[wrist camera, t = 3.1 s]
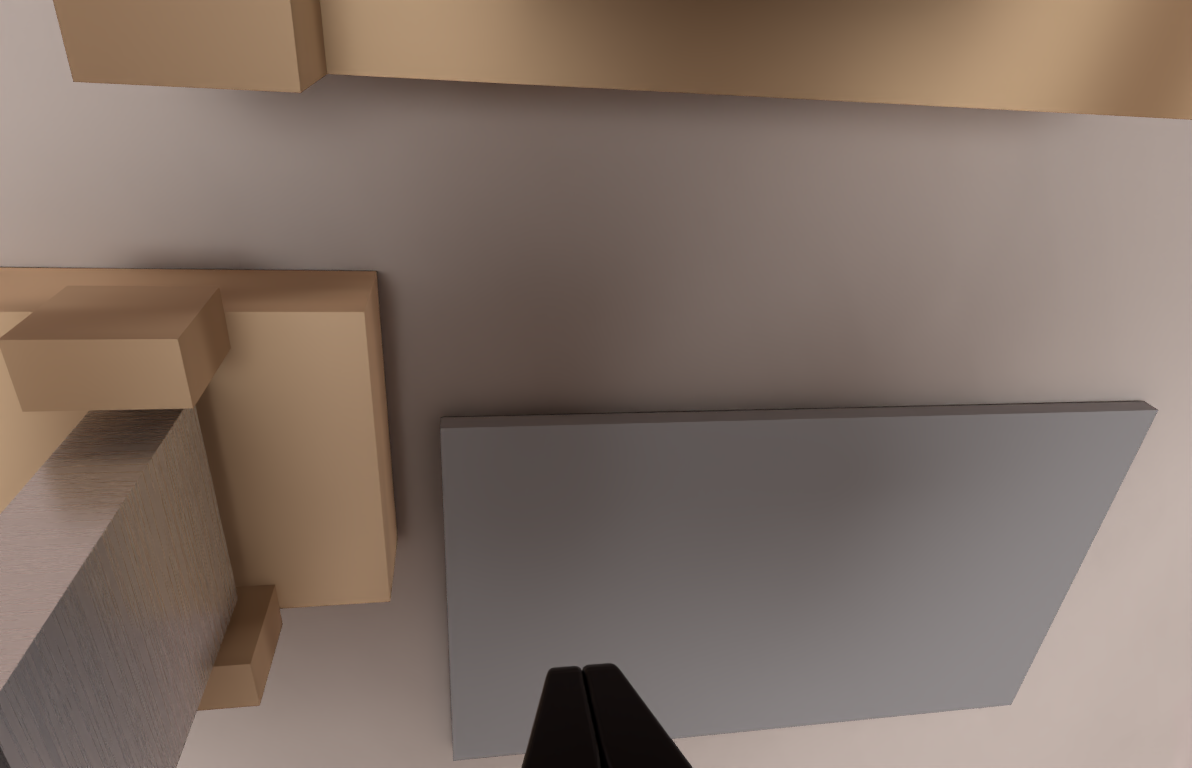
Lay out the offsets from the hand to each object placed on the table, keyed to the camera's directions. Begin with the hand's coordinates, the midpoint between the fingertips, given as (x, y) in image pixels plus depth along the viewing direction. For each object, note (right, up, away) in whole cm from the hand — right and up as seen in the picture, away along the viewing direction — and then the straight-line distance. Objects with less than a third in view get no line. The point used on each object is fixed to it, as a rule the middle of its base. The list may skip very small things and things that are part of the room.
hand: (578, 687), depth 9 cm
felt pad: (+5, -1, +9) cm, 10 cm away
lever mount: (-7, +3, +5) cm, 9 cm away
